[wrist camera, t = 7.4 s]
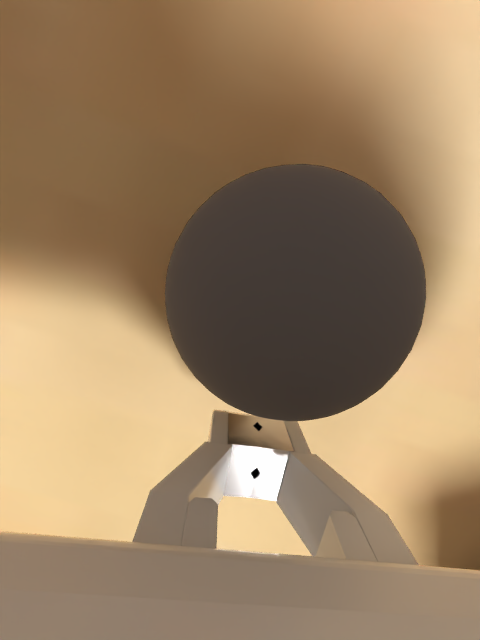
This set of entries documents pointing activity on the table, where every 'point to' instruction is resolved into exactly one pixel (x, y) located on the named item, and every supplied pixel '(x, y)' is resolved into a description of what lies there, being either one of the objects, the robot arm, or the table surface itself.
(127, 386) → the table surface
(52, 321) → the table surface
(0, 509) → the table surface
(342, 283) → the gray ball
